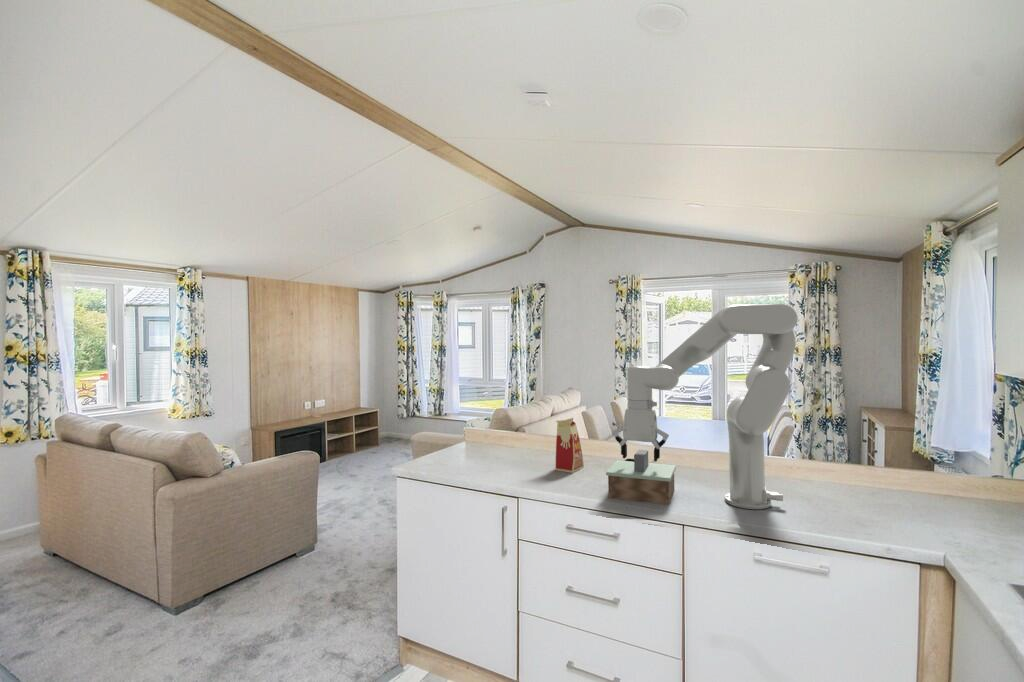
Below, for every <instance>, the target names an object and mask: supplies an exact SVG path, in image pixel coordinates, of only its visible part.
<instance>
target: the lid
mask: <svg viewBox="0 0 1024 682" xmlns="http://www.w3.org/2000/svg"><path fill="white" fill-rule="evenodd" d="M633 459H634V462H631V461H625V460H616V461H614V463H613V464H612V465H611V466H610V467H609V468H608V469H607V470H606V471H605V475H606V476H608V475H609V476H619V477H628V478H638V479H648V480H658V481H668V482H670V481H671V479H672V476H673V474H674V475H675V472H676V469H677V465H676V464H664V463H663V464H662V463H656V462H655V463H654V462H649V450H648V449H647V450H646V449H638V450H637V451H636V452H635V454H634V455H633Z"/></svg>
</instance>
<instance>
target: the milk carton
mask: <svg viewBox="0 0 1024 682" xmlns="http://www.w3.org/2000/svg"><path fill="white" fill-rule="evenodd" d="M555 422H556V423H557V426H556V440H555V468H554V469H555V471H558V472H565V473H571V474H573V473H576V472H577V471H579V470H582V469H583V468H585V467H584V466H585V465H584V456H583V450H582V446H581V444H582V443H581V440H580V436H579V431H578V427H577V423H576V422H574V417H571V418H567V419H562V420H561V419H560V420H555Z"/></svg>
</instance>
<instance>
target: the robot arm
mask: <svg viewBox="0 0 1024 682" xmlns="http://www.w3.org/2000/svg"><path fill="white" fill-rule="evenodd" d="M798 320H799V319H798V314H797V312H796V310H795V309H794V308H793V307H792V306H790V305H789V304H785V303H767V304H766V303H765V304H764V303H763V304H761V303H760V304H732V305H728V306H727V305H726V306H724V307H723V308H721V309H720V310H718V312H717V313H715V314H714V315H713V316H712V317H711V318H710V319H708V321H706V322H705V323H704V324H703V325H702V326H700V327H699V328H698V329H697V330H696V331H695V332H694V333H692V334H691V335H690V336H689V337H688V338H687V339H685V341H683V342H682V343H681V344H680V345H679V346H678V347H677V348H676V349H674V350H673V351H672V352H671V353H670V354H669V355H668V356H666V357H665V358H663V360H661V362H659V363H658V364H657V365H656V366H653V367H652V366H651V367H650V366H648V365H631V366H629V367H628V368H627V372H626V373H627V407H626V408H625V409H624V418H623V425H622V426H620V427H618V428H615V429H613V430H612V435H613V436H614V438H615V441H616V442H617V443H618V444H619V446H620V455H622V459H627V458H626V457H627V456H628V444H627V442H628V441H631V442H641V443H642V442H643V443H652V445H653V446H654V448H653V462H655V463H656V462H658V460H659V459H660V454H661V449H660V448H662V446H664V445H665V444H666V442H667V440H668V439H669V436H670V435H669V434H668V433H667V432H665V431H663V430H661V429H660V428H658V421H657V419H658V418H657V414H656V409H654V407H657V406H658V402H657V401H654V399H653V390H660V391H670V390H673V389H675V388H676V387H677V386H678V383H679V379H680V377H681V376H683V375H684V374H685V373H686V372H687V371H688V370H689V369H692V367H694V366H695V365H697V364H699V363H701V362H705V361H706V360H708V359H709V358H711V357H712V356H713V355H714V354H716V353H717V352H718V351H719V350H720V349H721V348H723V347H724V346H725V345H726V344H727V343H728V342H729V341H730V340H732V339H734V337H735V336H737V335H741V334H742V335H762V339H763V340H762V345H761V347H760V350H759V353H758V355H757V356H756V358H755V360H754V362H753V363H752V366H751V368H750V370H749V371H748V373H747V375H746V377H745V385H746V386H745V387H746V388H747V392H746V394H745V396H741V397H740V396H739V397H736V398H734V399H733V400H731V402H730V403H729V404H728V406H727V409H726V421H727V431H728V432H727V433H728V460H729V461H728V463H729V465H728V466H729V468H728V469H729V492H728V493H726V494H725V495H724V502H726V503H727V504H729V505H731V506H734V507H737V508H739V509H740V508H742V509H747V510H763V509H768V508H770V507H771V506H772V501H777V502H784V495H783V494H782V493H781V494H779V493H778V492H777V491H769V490H767V486H766V477H765V476H766V475H765V474H766V473H765V438H764V437H765V436H764V433H766V432H767V431H769V429H770V428H771V426H772V425H773V423H774V421H775V420H776V418H777V416H778V414H779V412H780V410H781V409H782V407H783V405H784V403H785V401H786V399H787V398H788V395H789V392H790V386H791V383H790V378H789V377H788V375H787V374H786V372H787V370H788V368H789V365H790V363H791V361H792V359H793V357H794V354H795V351H796V346H797V345H796V336H795V332H794V328H795V327H796V325H797V323H798ZM620 432H622V435H623V438H622V437H621V436H620V434H619V433H620ZM658 435H660V436H662V438H661V440H660V441H659V440H658Z"/></svg>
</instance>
